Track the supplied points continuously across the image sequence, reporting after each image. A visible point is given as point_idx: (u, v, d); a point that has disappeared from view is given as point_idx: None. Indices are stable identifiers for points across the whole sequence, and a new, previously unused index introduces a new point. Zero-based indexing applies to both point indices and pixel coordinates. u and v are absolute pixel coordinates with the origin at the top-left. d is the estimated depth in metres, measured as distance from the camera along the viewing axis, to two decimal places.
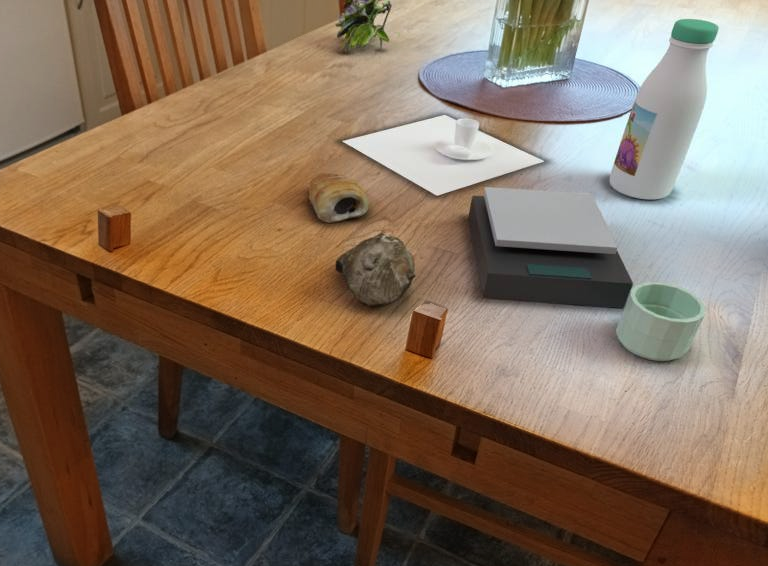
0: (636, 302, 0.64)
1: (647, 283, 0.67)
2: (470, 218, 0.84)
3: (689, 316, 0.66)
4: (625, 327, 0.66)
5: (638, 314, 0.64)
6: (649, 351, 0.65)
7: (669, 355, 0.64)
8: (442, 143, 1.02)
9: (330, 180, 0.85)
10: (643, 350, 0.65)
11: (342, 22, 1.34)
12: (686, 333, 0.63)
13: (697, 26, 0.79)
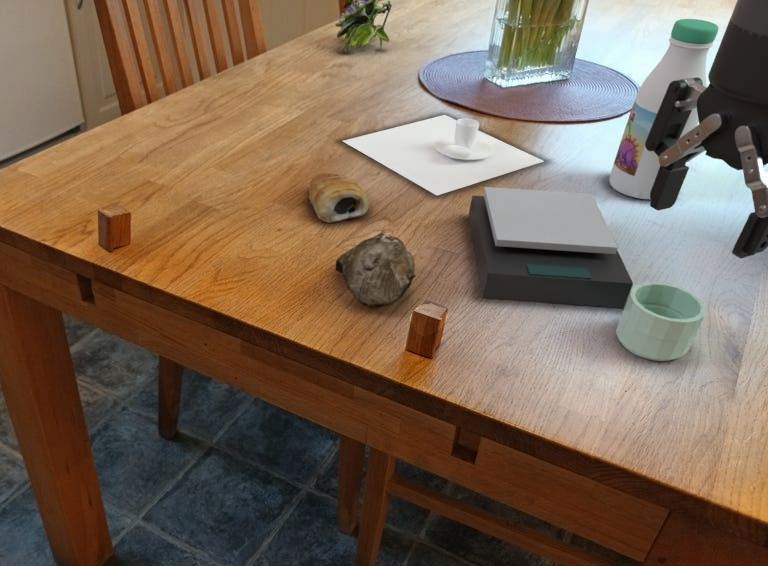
0: (636, 302, 0.64)
1: (647, 283, 0.67)
2: (470, 218, 0.84)
3: (689, 316, 0.66)
4: (625, 327, 0.66)
5: (638, 314, 0.64)
6: (649, 351, 0.65)
7: (669, 355, 0.64)
8: (442, 143, 1.02)
9: (330, 180, 0.85)
10: (643, 350, 0.65)
11: (342, 22, 1.34)
12: (686, 333, 0.63)
13: (697, 26, 0.79)
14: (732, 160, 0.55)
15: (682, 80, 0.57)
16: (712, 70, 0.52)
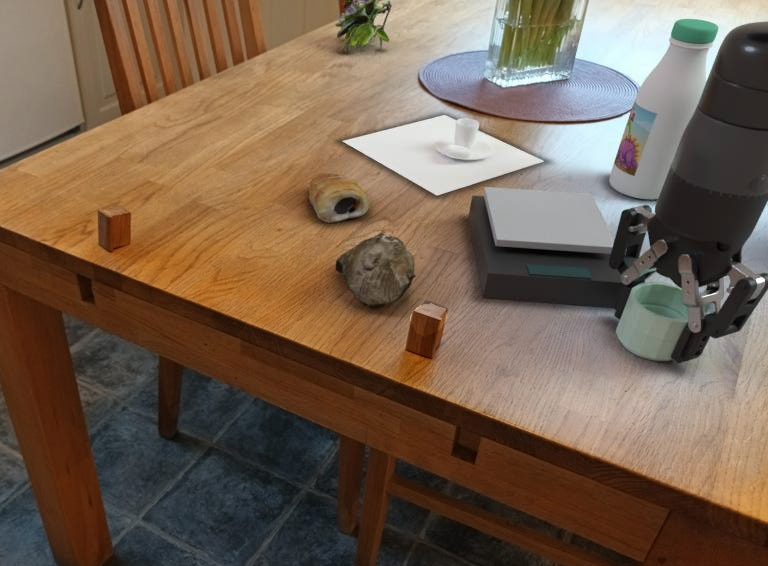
0: (636, 302, 0.64)
1: (647, 283, 0.67)
2: (470, 218, 0.84)
3: None
4: (625, 327, 0.66)
5: (638, 314, 0.64)
6: (649, 351, 0.65)
7: (669, 355, 0.64)
8: (442, 143, 1.02)
9: (330, 180, 0.85)
10: (643, 350, 0.65)
11: (342, 22, 1.34)
12: None
13: (697, 26, 0.79)
14: (677, 280, 0.62)
15: (632, 208, 0.65)
16: (657, 205, 0.60)
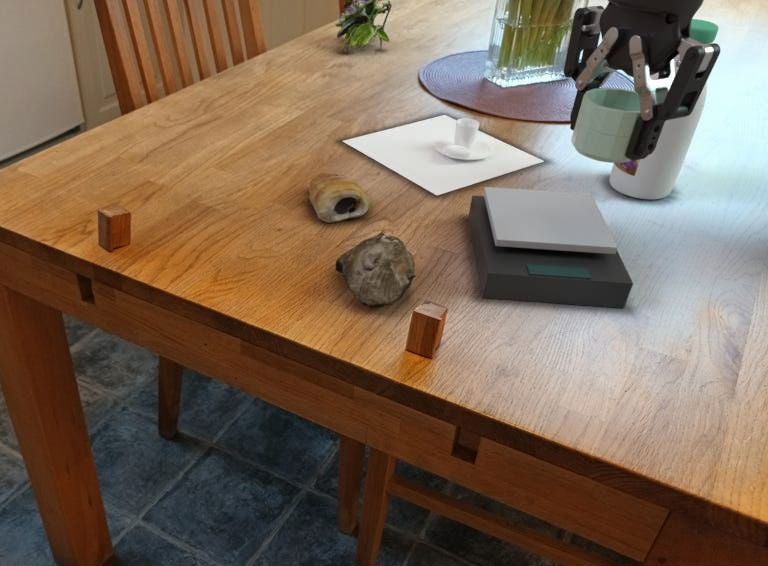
0: (589, 100, 0.64)
1: (601, 88, 0.66)
2: (470, 218, 0.84)
3: None
4: (579, 130, 0.65)
5: (591, 111, 0.64)
6: (603, 150, 0.64)
7: (623, 154, 0.64)
8: (442, 143, 1.02)
9: (330, 180, 0.85)
10: (597, 150, 0.65)
11: (342, 22, 1.34)
12: None
13: (697, 26, 0.79)
14: (629, 69, 0.61)
15: (585, 7, 0.64)
16: None
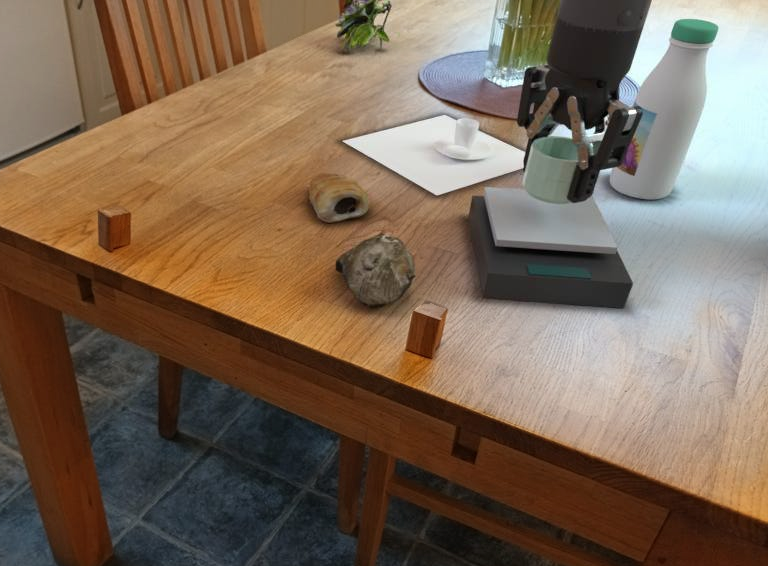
0: (536, 149, 0.72)
1: (549, 137, 0.75)
2: (470, 218, 0.84)
3: None
4: (528, 174, 0.74)
5: (537, 159, 0.72)
6: (547, 193, 0.73)
7: (565, 196, 0.73)
8: (442, 143, 1.02)
9: (330, 180, 0.85)
10: (542, 193, 0.73)
11: (342, 22, 1.34)
12: None
13: (697, 26, 0.79)
14: (569, 124, 0.70)
15: (534, 67, 0.73)
16: (548, 53, 0.68)
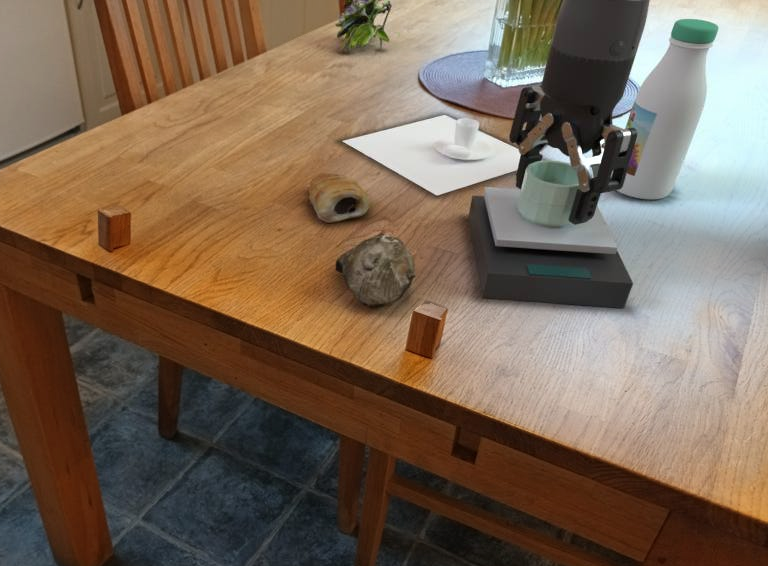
0: (530, 173, 0.74)
1: (543, 161, 0.76)
2: (470, 218, 0.84)
3: None
4: (522, 198, 0.75)
5: (531, 184, 0.74)
6: (542, 217, 0.74)
7: (559, 220, 0.74)
8: (442, 143, 1.02)
9: (330, 180, 0.85)
10: (537, 216, 0.75)
11: (342, 22, 1.34)
12: (572, 198, 0.73)
13: (697, 26, 0.79)
14: (564, 148, 0.71)
15: (530, 87, 0.74)
16: (542, 80, 0.69)
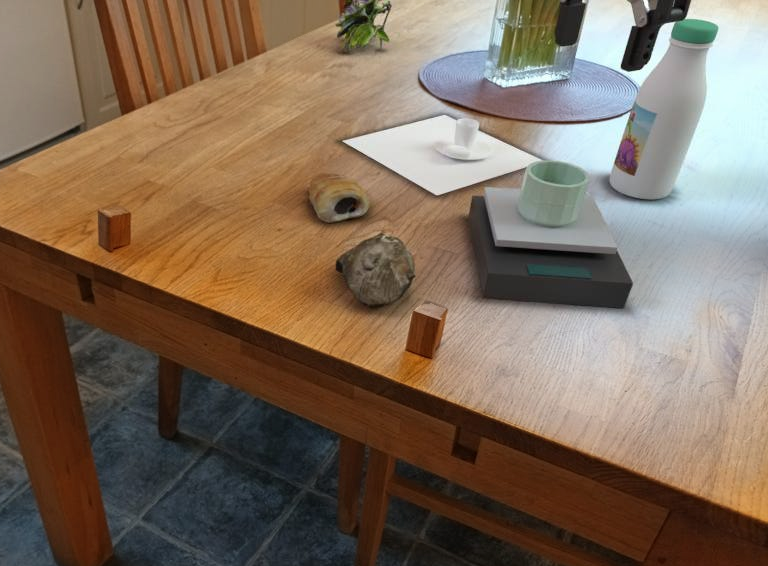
0: (530, 173, 0.74)
1: (543, 161, 0.76)
2: (470, 218, 0.84)
3: None
4: (522, 198, 0.75)
5: (531, 184, 0.74)
6: (542, 217, 0.74)
7: (559, 220, 0.74)
8: (442, 143, 1.02)
9: (330, 180, 0.85)
10: (537, 216, 0.75)
11: (342, 22, 1.34)
12: (572, 198, 0.73)
13: (697, 26, 0.79)
14: None
15: None
16: None
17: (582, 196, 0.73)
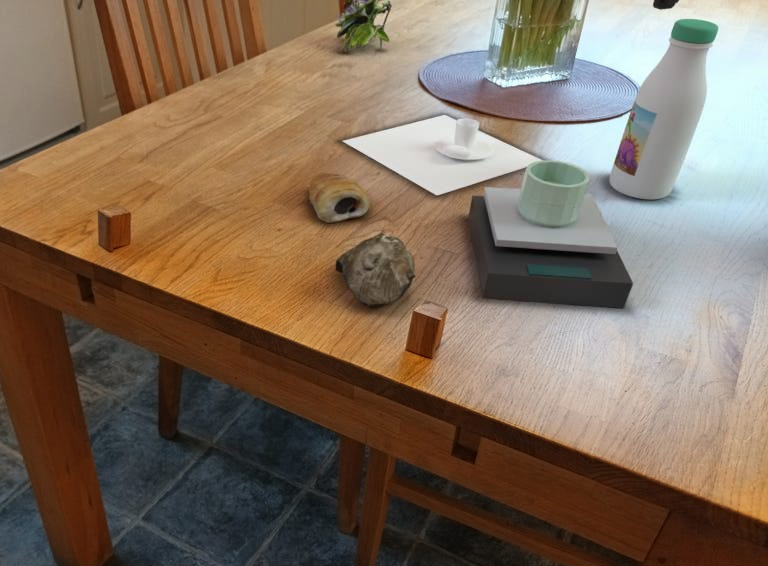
0: (530, 173, 0.74)
1: (543, 161, 0.76)
2: (470, 218, 0.84)
3: None
4: (522, 198, 0.75)
5: (531, 184, 0.74)
6: (542, 217, 0.74)
7: (559, 220, 0.74)
8: (442, 143, 1.02)
9: (330, 180, 0.85)
10: (537, 216, 0.75)
11: (342, 22, 1.34)
12: (572, 198, 0.73)
13: (697, 26, 0.79)
14: None
15: None
16: None
17: (582, 196, 0.73)
